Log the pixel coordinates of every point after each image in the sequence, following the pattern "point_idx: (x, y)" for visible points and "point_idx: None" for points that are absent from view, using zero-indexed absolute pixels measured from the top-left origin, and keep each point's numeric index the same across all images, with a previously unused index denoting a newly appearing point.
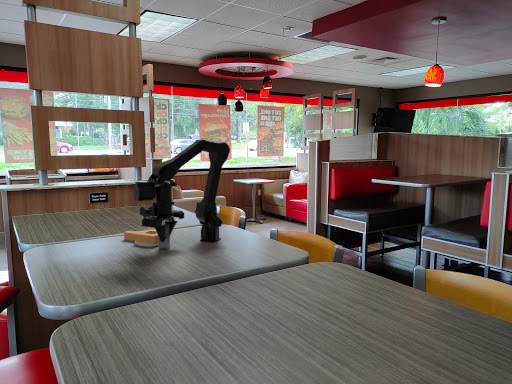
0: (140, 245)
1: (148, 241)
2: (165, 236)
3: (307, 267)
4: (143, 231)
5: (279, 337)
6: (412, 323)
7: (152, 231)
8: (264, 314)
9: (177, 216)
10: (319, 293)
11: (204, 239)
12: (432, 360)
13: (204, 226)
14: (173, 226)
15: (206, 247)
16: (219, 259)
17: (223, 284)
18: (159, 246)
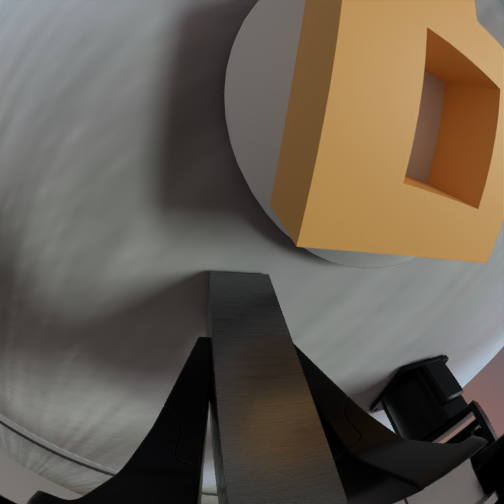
0: (230, 54)
1: (291, 124)
2: (210, 416)
3: (210, 497)
4: (468, 18)
5: (29, 464)
6: None
7: (495, 111)
8: (45, 467)
9: (482, 462)
10: None
11: (400, 385)
12: (79, 492)
13: (427, 434)
14: None
15: None
16: None
17: (64, 459)
18: (210, 285)
